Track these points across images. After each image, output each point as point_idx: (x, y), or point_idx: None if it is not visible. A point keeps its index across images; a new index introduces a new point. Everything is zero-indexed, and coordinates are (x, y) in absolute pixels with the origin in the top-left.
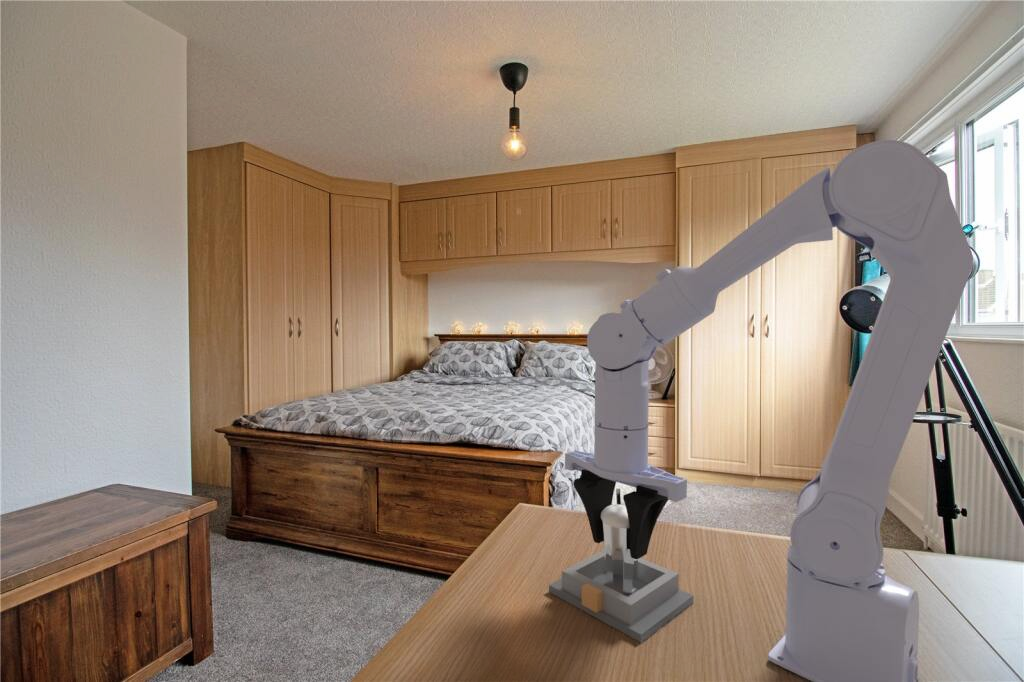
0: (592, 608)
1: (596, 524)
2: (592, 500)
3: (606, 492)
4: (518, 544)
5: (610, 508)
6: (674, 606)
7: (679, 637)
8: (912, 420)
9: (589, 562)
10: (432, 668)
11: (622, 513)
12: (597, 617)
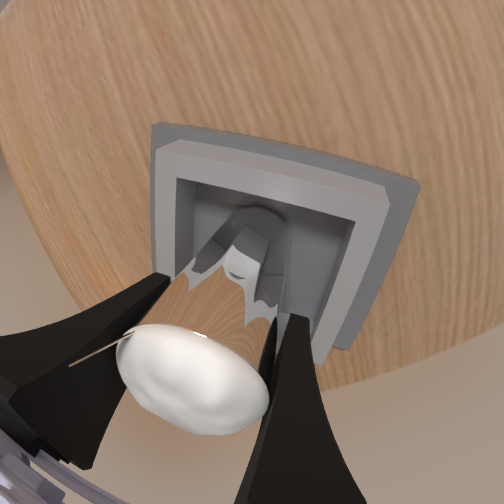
0: None
1: None
2: (105, 425)
3: (78, 394)
4: (34, 174)
5: (151, 411)
6: (388, 253)
7: (404, 304)
8: None
9: (171, 262)
10: None
11: (203, 433)
12: None
